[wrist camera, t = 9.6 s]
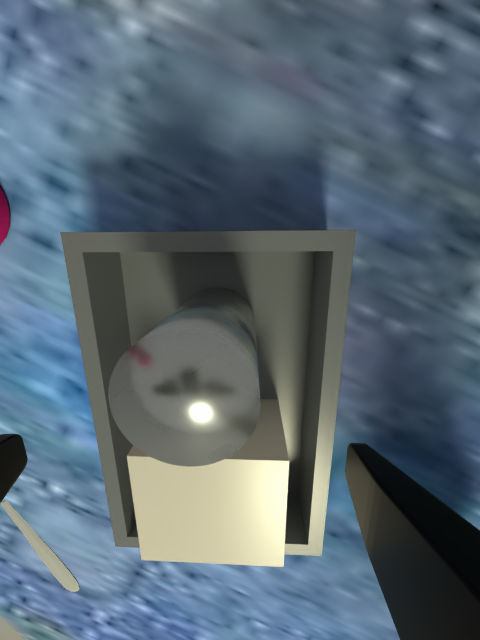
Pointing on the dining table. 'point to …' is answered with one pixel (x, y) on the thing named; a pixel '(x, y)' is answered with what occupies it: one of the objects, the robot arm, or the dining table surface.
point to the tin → (191, 382)
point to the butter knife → (44, 551)
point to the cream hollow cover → (216, 502)
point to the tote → (271, 339)
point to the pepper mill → (4, 216)
